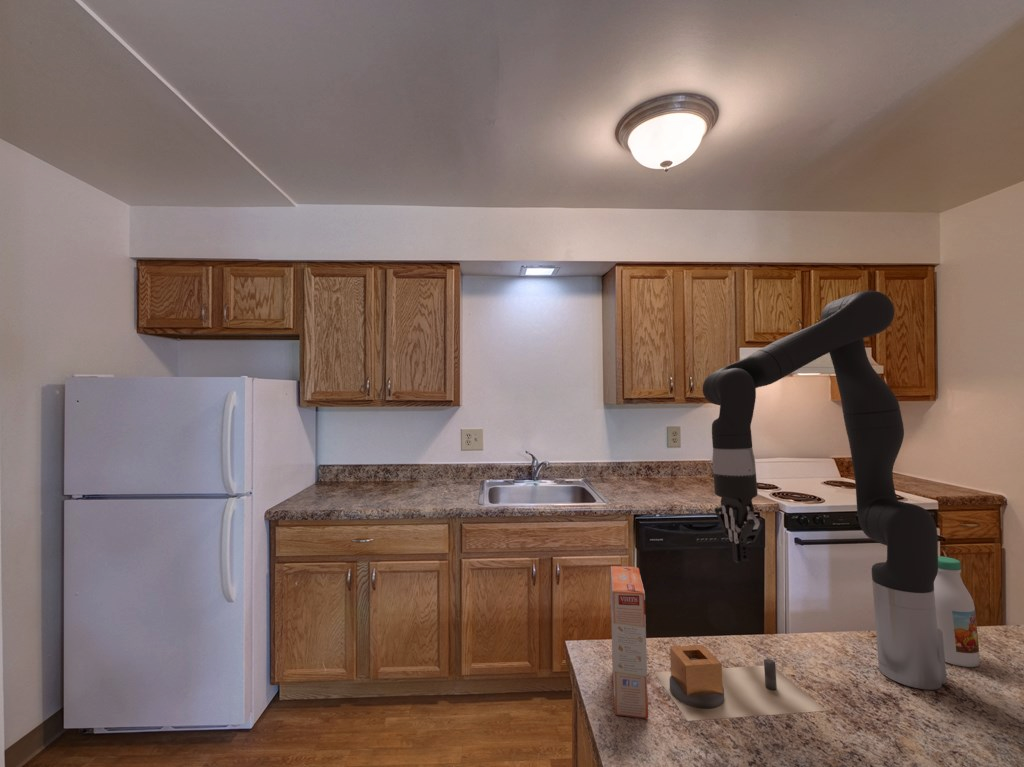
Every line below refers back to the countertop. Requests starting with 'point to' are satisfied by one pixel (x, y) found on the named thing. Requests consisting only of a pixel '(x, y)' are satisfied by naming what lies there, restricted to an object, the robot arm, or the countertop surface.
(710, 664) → the hollow wooden cube
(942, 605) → the milk bottle
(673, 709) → the countertop surface
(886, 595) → the robot arm
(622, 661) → the cracker box
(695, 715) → the board
